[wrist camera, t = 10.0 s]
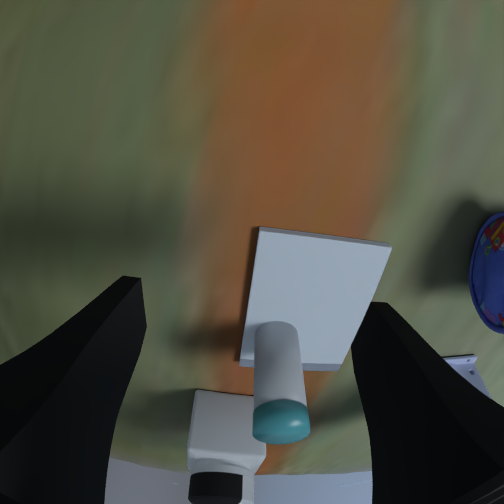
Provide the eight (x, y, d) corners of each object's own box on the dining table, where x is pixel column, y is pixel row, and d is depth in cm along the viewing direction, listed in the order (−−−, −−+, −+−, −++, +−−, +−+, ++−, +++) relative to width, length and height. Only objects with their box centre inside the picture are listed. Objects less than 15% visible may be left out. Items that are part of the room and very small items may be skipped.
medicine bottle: (194, 418, 32) (182, 509, 22) (195, 387, 29) (180, 497, 18) (253, 425, 33) (252, 516, 22) (265, 395, 29) (267, 505, 19)
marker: (303, 322, 23) (317, 421, 15) (292, 352, 25) (301, 444, 17) (257, 318, 23) (257, 419, 15) (250, 348, 24) (248, 442, 17)
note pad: (389, 243, 20) (392, 248, 19) (336, 365, 26) (338, 371, 26) (259, 226, 19) (259, 231, 19) (239, 360, 26) (239, 366, 25)
